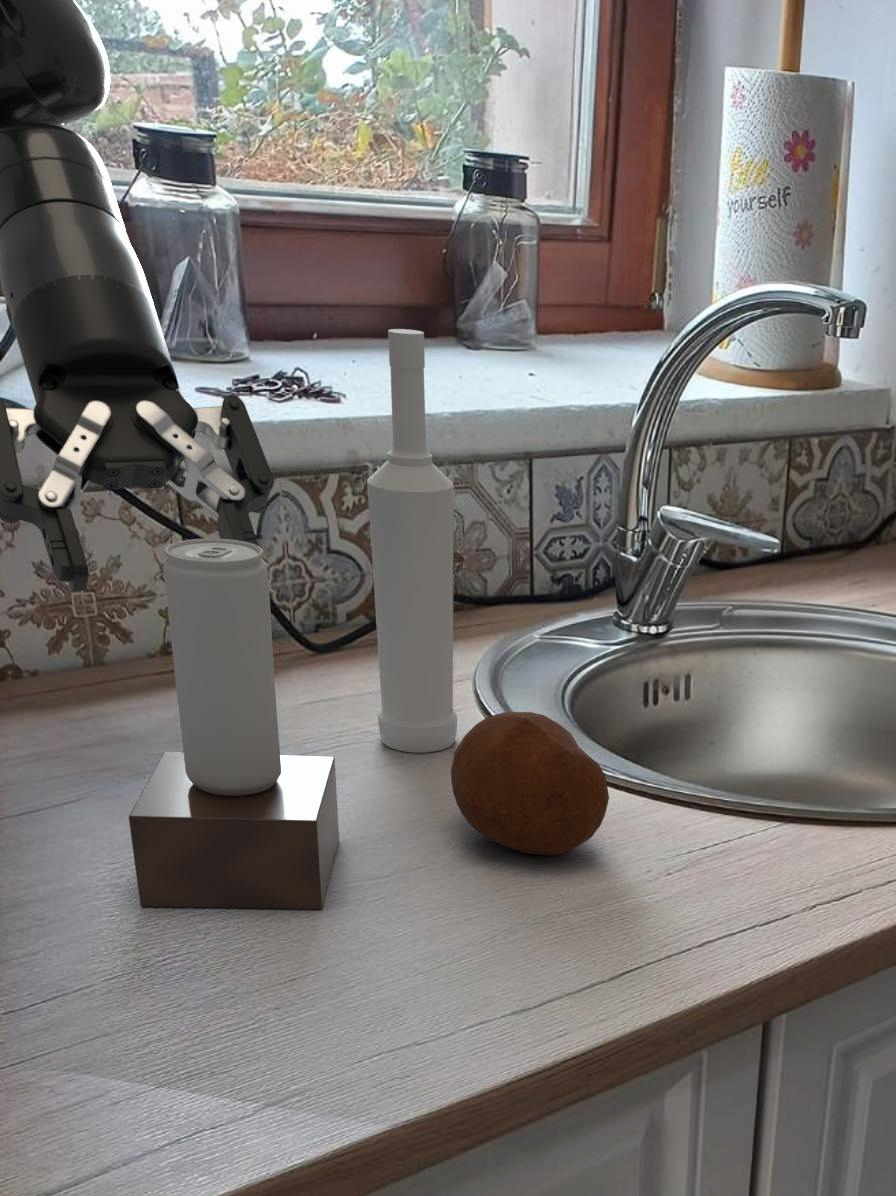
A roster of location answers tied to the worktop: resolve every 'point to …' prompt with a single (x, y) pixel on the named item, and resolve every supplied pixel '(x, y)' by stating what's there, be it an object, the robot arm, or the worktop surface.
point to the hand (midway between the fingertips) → (165, 578)
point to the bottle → (412, 568)
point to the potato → (528, 784)
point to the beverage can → (223, 664)
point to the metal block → (236, 839)
